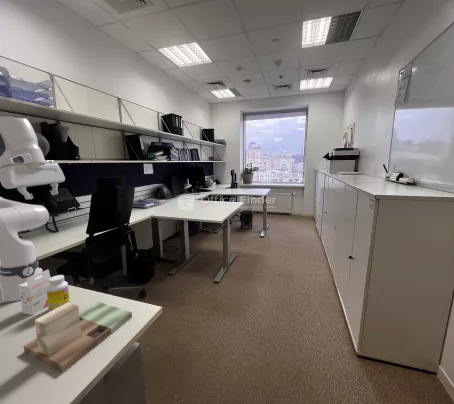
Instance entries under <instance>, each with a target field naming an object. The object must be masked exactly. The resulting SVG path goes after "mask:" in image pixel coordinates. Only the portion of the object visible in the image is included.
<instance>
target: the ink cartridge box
mask: <svg viewBox="0 0 454 404" xmlns="http://www.w3.org/2000/svg"><path fill="white" fill-rule="evenodd" d="M50 278H51V274H50V269H46V270H42V272H41V273H39V274H36V275H34V276H32V277H30V278H27V282H25V283H23V284H21V285H18V286H19V292H20V299H21V300H20V304H21V311H22V314H24V315H30V316H32V315H35V314H37V313H38V312H40V311H42V310H43V309H45V308H46V307H48V298H47V290H46V289H47V287H48V285H50V283H49V279H50Z"/></svg>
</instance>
